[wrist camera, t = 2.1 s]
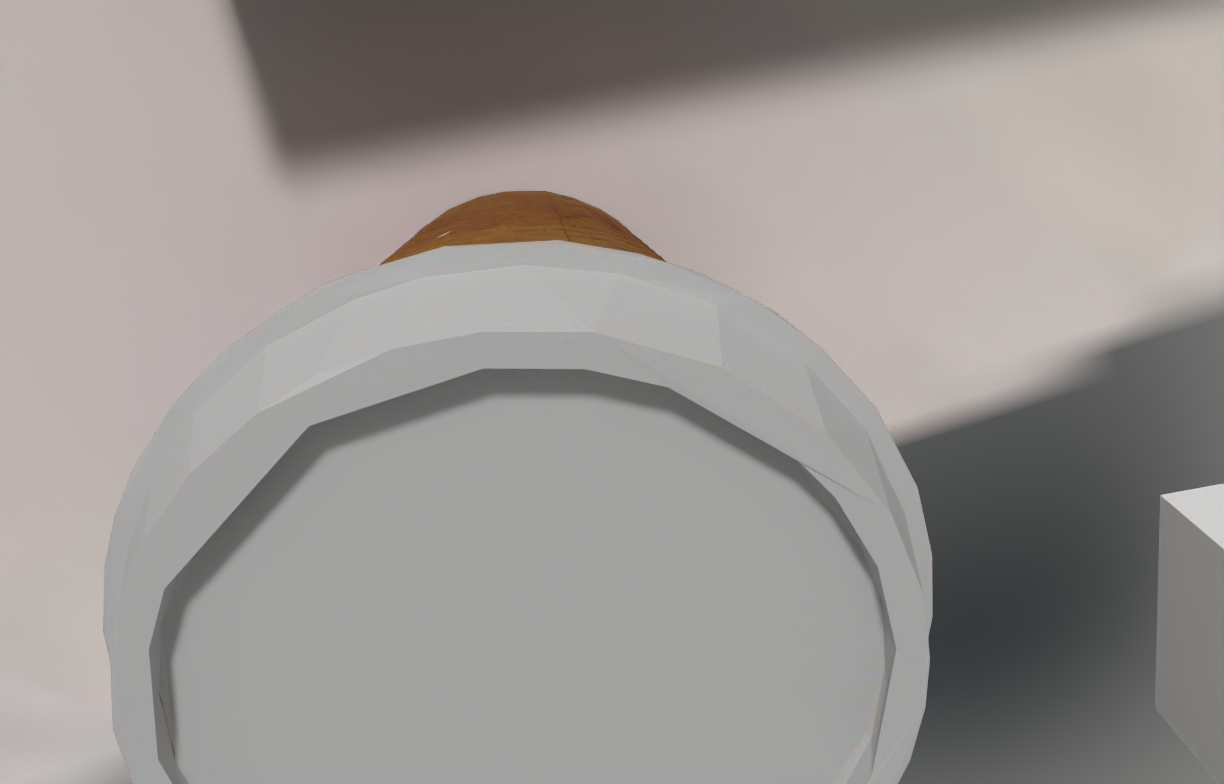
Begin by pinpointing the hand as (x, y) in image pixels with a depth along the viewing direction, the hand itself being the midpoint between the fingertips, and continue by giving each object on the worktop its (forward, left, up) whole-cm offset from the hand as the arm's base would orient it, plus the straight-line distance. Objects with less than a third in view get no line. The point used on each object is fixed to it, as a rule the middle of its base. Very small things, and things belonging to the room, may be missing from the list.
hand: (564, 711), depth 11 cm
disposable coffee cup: (0, 0, -12) cm, 12 cm away
